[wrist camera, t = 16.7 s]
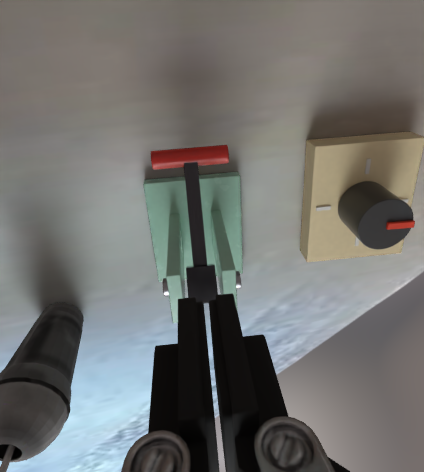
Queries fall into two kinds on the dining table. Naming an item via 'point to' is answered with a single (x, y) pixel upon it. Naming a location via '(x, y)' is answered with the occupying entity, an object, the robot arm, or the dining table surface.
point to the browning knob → (375, 215)
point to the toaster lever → (195, 211)
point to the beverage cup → (39, 384)
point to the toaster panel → (346, 175)
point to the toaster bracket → (178, 231)
